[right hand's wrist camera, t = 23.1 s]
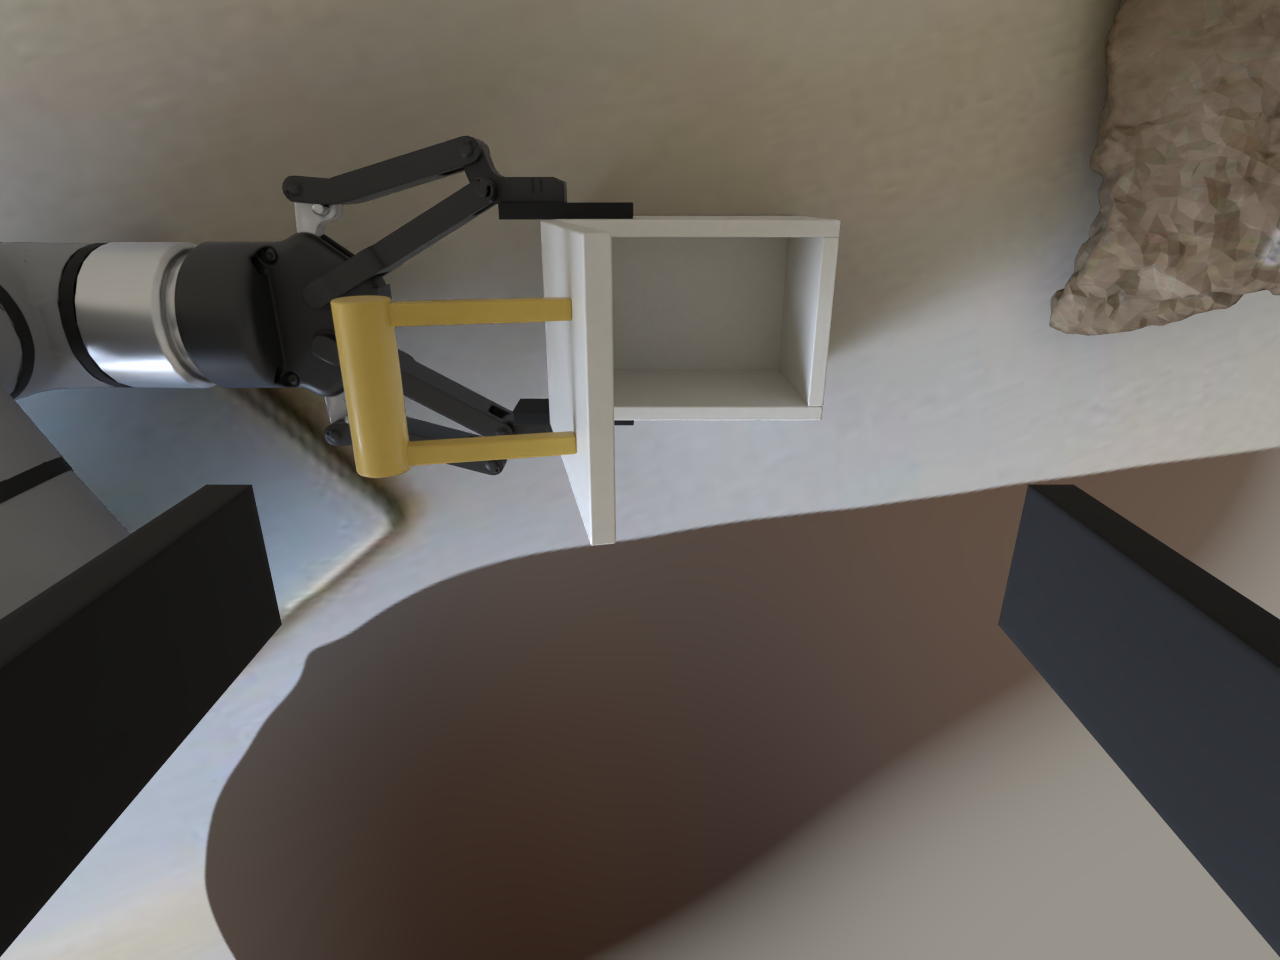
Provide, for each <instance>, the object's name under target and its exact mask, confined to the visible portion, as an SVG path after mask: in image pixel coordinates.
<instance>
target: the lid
mask: <svg viewBox="0 0 1280 960" xmlns="http://www.w3.org/2000/svg"><path fill="white" fill-rule="evenodd" d="M540 224H541V245H542V266H543V287H544V298H507V299H470V300H432V301H395V302H392V300H391V298H389V297H386V296H374V295H367V296H349V297H341V298H336V299H333V300H331V309H332V315H333V322H334V328H335V335H336V341H337V348H338V354H339V360H340V367H341V373H342V380H343V386H344V393H345V399H346V405H347V412H348V418H349V425H350V431H351V438H352V444H353V450H354V457H355V463H356V470H357V472H358V474H359V475H361V476H364V477H371V478H383V477H390V476H395V475H399V474H402V473H404V472H406V471H408V470H409V469H410V468H411V466H414V465H428V464H442V463H457V462H471V461H485V460H499V459H514V458H528V457H542V456H556V455H561V457H562V460H563V463H564V466H565V469H566V472H567V475H568V478H569V481H570V484H571V487H572V490H573V493H574V496H575V499H576V502H577V505H578V508H579V511H580V514H581V517H582V520H583V523H584V526H585V529H586V532H587V535H588V538H589V541H590V544H591V545H603V544H614V543H615V542H616V514H615V443H614V371H613V300H612V235H611V233H608V232H604V231H600V230H596V229H592V228H588V227H584V226H579V225H575V224H571V223H567V222H563V221H559V220H541V222H540ZM517 322H545V328H546V349H547V369H548V390H549V411H550V424H551V427H552V430H553V432H550V433H534V434H519V435H503V436H487V437H471V438H456V439H440V440H424V441H409V436H408V428H407V420H406V412H405V404H404V396H403V388H402V380H401V371H400V363H399V355H398V347H397V339H396V331H395V327H397V326H427V325H457V324H487V323H517Z"/></svg>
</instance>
